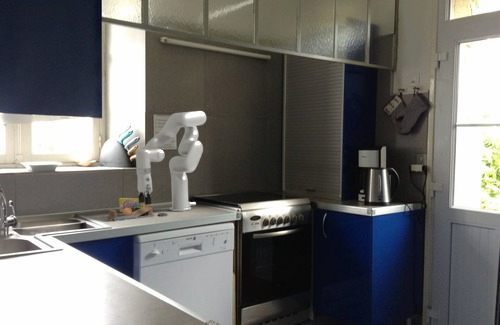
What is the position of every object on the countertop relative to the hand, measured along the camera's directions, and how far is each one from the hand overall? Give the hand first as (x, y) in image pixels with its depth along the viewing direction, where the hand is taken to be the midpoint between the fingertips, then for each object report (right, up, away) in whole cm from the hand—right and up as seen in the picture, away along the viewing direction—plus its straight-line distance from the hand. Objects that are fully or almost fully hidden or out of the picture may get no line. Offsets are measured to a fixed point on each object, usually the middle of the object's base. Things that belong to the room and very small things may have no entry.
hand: (144, 203), depth 256 cm
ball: (-8, -4, -6) cm, 11 cm away
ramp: (-6, -7, -4) cm, 11 cm away
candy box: (-11, -7, +15) cm, 19 cm away
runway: (-6, -7, -4) cm, 11 cm away
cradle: (+10, -7, 0) cm, 12 cm away
